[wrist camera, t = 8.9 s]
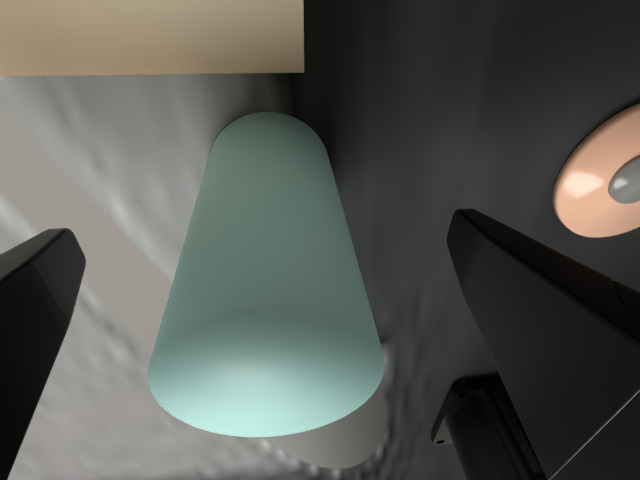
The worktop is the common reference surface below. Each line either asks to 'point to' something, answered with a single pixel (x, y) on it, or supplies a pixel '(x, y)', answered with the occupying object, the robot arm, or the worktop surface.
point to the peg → (266, 293)
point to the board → (150, 37)
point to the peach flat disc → (602, 179)
